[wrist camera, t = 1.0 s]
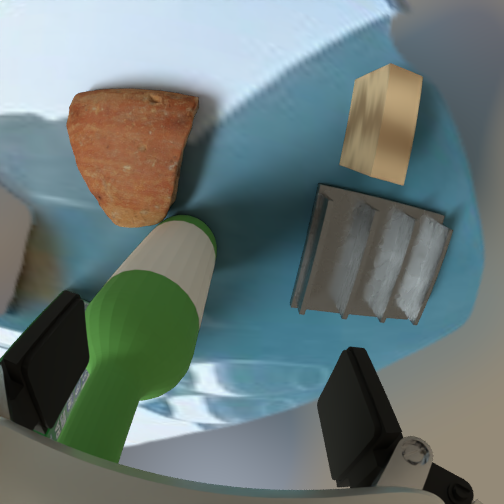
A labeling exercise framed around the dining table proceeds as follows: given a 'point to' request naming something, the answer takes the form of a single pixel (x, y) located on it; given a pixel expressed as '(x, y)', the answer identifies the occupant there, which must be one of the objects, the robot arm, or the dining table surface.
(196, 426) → the dining table surface
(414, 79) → the oak board
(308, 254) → the rack
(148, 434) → the dining table surface
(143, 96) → the ceramic shard
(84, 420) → the wine bottle
